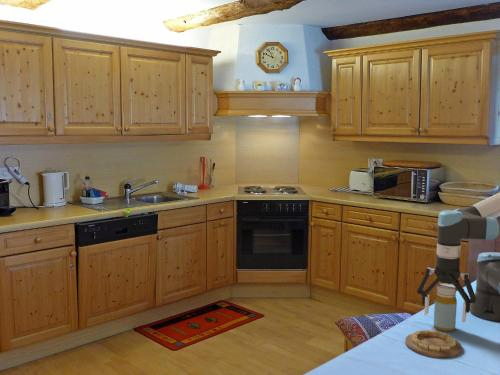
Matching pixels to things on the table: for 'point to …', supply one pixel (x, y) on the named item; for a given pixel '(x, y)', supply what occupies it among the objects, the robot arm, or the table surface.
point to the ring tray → (433, 344)
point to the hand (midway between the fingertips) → (444, 317)
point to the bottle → (445, 307)
